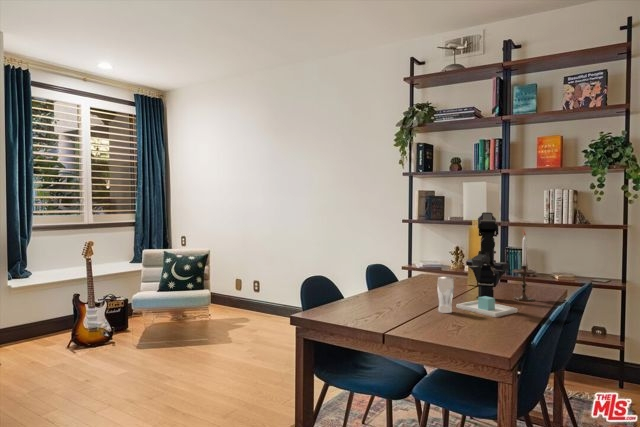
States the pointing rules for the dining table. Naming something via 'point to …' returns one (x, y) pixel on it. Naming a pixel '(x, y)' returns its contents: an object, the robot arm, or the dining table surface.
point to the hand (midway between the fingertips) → (486, 283)
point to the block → (486, 303)
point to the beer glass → (445, 294)
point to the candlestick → (524, 273)
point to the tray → (498, 311)
